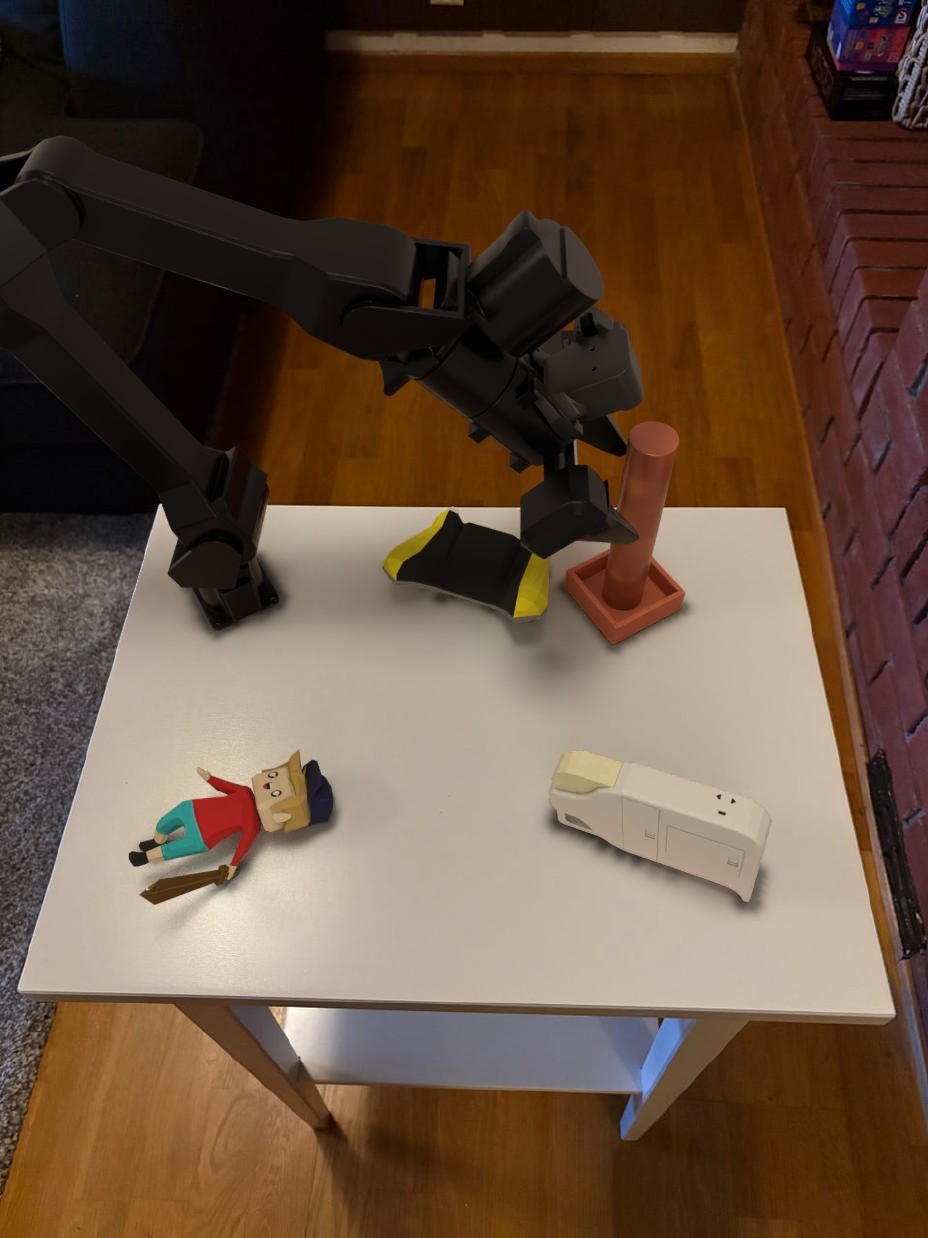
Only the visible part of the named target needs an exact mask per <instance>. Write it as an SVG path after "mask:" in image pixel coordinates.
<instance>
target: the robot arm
mask: <svg viewBox="0 0 928 1238" xmlns="http://www.w3.org/2000/svg"><path fill="white" fill-rule="evenodd" d="M70 241H74V242H77V243H81V244H84V245H86V246H87V245H88V246H89V247H90V246H91V247H93V248H97V249H100V250H103V251H106V252H109V253H112V254H115V255H119V256H121V257H125V258H128V259H131V260H134V261H138V262H140V263H143V264H146V265H150V266H153V267H156V268H160V269H162V270H166V271H169V272H172V273H175V274H178V275H181V276H185V277H188V278H191V279H194V280H196V281H200V282H203V283H207V284H209V285H213V286H216V287H219V288H222V289H225V290H229V291H231V292H235V293H238V294H241V295H243V296H244V295H245V296H248V297H251V298H252V299H253V298H254V299H257V300H260V301H262V302H264V303H267V304H269V305H271V306H274V307H275V308H278V309H280V310H281V311H283V312H284V313H285V314H286V315H287V316H288V317H289V318H291V319H292V320H293V321H294V322H295V323H296V324H297V325H298V326H299V327H300V328H301V329H302V330H303V331H304V332H306V334H308V335H309V336H310V337H312V338H314V339H316V340H318V341H320V342H322V343H324V344H327V345H328V346H331V347H333V348H335V349H337V350H340V351H342V352H344V353H346V354H347V355H350V356H352V357H355V358H358V359H360V360H364V361H370V362H378V364H379V367H380V369H381V374H382V381H383V382H382V383H383V389H382V390H383V391H382V392H383V394H384V395H385V396H386V397H393V396H394V395H396V394H397V393H398V392H399V391H400V390H401V389H403V387H404V386H406V385H407V384H408V383H409V382H411V381H412V380H413V381H415V382H416V383H417V384H418V385H420V386H421V387H423V388H424V389H425V390H426V391H428V392H429V393H430V394H432V395H433V396H434V397H436V399H438V400H440V401H441V402H443V404H445V405H447V406H448V407H449V408H450V409H452V410H453V411H454V412H456V413H457V414H458V415H460V416H461V417H463V418H464V419H465V420H466V421H468V429H467V430H468V432H467V433H468V434H467V437H468V438H470V439H471V440H472V441H474V442H475V443H477V444H481V443H482V442H483V441H485V440H486V439H487V438H489V437H490V438H491V439H492V440H493V441H494V442H496V443H497V444H499V445H500V446H502V447H503V448H504V449H506V450H507V451H508V452H509V468H511V469H512V470H514V472H516V473H517V474H521V473H522V472H523V471H525V470H526V469H528V468H529V467H531V466H532V465H533V466H534V467H541V466H543V481H541V482H540V483H538V484H537V485H535V486H534V487H532V488H531V489H528V491H526V492H524V493H523V494H522V495H520V497H519V498H520V501H519V539H520V545H521V546H523V547H524V548H526V549H527V550H529V551H530V552H532V553H533V554H535V555H536V556H538V557H539V558H542V559H544V560H545V559H546V558H548V559H549V557H552V556H553V555H555V554H557V553H559V552H560V551H561V550H563V549H565V548H567V547H569V546H570V545H572V544H574V543H575V542H591V543H603V544H610V543H615V544H631V543H633V542H635V541H636V540H638V539H639V534H638V533H637V531H636V530H635V529H634V528H633V527H632V525H631V524H630V523H629V522H628V521H627V520H626V519H625V518H624V517H623V516H622V515H621V514H620V513H619V512H618V511H617V510H616V508H615V506H613V505H612V504H611V494H610V484H609V482H610V481H609V479H605V480H602V478H601V476H600V474H599V473H598V472H597V471H596V470H595V469H593V468H592V467H591V466H590V465H588V464H579V462H578V461H579V460H578V445H577V441H578V440H579V441H580V442H582V443H584V444H586V445H589V446H591V447H593V448H595V449H597V450H599V451H601V452H604V453H606V454H610V455H612V456H615V457H618V458H622V457H623V456H626V450H627V444H628V441H627V439H626V438H625V436H624V435H623V433H622V432H621V430H620V428H619V426H618V425H617V423H616V422H615V420H614V418H613V416H612V415H611V414H614V413H618V412H620V411H621V412H622V411H623V412H627V411H630V410H633V409H635V408H636V407H638V406H640V404H641V403H642V402H643V400H644V398H645V390H644V387H643V380H642V379H643V378H642V367H641V364H640V362H639V359H638V356H637V354H636V352H635V349H634V346H633V344H632V342H631V338H630V330H629V328H628V326H627V325H624V324H622V323H621V321H620V319H617V320H614V318H613V317H612V316H611V315H609V314H608V313H606V312H605V311H603V309H600V308H599V307H598V306H596V305H595V304H596V303H598V302H599V301H600V300H601V299H602V298H603V297H604V295H605V284H604V281H603V277H602V274H601V272H600V269H599V267H598V265H597V264H596V262H595V260H594V258H593V257H592V255H591V253H590V252H589V250H588V249H587V247H586V246H585V245H584V243H583V242H582V240H581V239H580V238H579V237H578V236H577V235H576V233H575V232H574V231H573V230H571V228H570V227H568V225H563V226H562V225H561V224H559V223H558V222H556V221H554V220H553V219H551V218H545V217H544V218H542V219H540V220H539V219H538V218H537V217H536V216H535V215H534V214H533V213H532V212H531V211H530V210H529V209H523V210H521V211H520V212H519V214H517V215H516V216H515V217H514V218H513V219H512V220H511V221H509V223H508V225H507V226H506V228H505V229H504V231H503V232H502V233H501V234H500V235H499V236H498V237H497V238H496V239H495V240H494V241H493V242H492V243H491V244H489V245H488V247H487V248H486V249H484V250H483V252H481V253H480V254H479V255H478V256H477V257H476V258H475V259H474V260H472V257H473V248H472V246H471V245H470V244H468V243H463V242H454V241H447V240H439V239H431V238H424V237H423V238H422V237H416V236H409V235H408V234H406V233H405V232H403V231H402V230H400V229H397V228H396V227H393V226H389V225H386V224H380V223H375V222H370V221H364V220H358V219H354V218H353V219H352V218H347V217H341V216H333V217H327V218H326V217H325V218H319V219H310V220H299V219H295V218H288V217H282V216H280V215H276V214H273V213H271V212H269V211H268V212H267V211H264V210H262V209H259V208H257V207H254V206H251V205H248V204H246V203H245V204H244V203H242V202H239V201H237V200H234V199H230V198H227V197H224V196H222V195H218V194H215V193H213V192H210V191H207V190H204V189H201V188H198V187H196V186H192V185H189V184H186V183H184V182H182V181H181V182H180V181H178V180H175V179H172V178H169V177H166V176H164V175H161V174H158V173H155V172H151V171H149V170H147V169H143V168H140V167H137V166H136V165H135V166H134V165H132V164H130V163H126V162H124V161H121V160H117V159H114V158H111V157H109V156H105V155H103V154H100V153H97V152H94V151H93V150H92V149H91V148H90V147H89V146H88V145H87V144H86V143H84V142H82V141H81V140H78V139H76V138H75V137H72V136H66V135H57V136H53V137H48V138H44V139H42V141H40V142H39V143H37V144H36V146H33V147H32V148H30V149H28V150H26V151H20V152H16V153H11V154H7V155H2V156H0V349H1V350H2V349H3V350H5V351H7V352H8V353H10V354H11V355H12V356H13V357H14V358H15V359H16V360H17V361H19V363H21V365H23V366H24V367H25V368H26V369H27V370H28V371H29V372H30V373H31V374H32V375H33V376H34V377H35V378H37V379H38V380H39V382H41V383H42V385H44V386H45V387H46V388H47V389H48V390H49V391H50V392H51V393H52V394H54V396H55V397H57V398H58V400H60V401H61V402H62V403H63V404H64V405H65V406H66V407H67V408H68V409H69V410H70V411H71V412H73V413H74V414H75V415H76V417H78V418H79V419H80V420H81V421H82V422H83V423H84V424H85V425H86V426H88V428H89V429H90V430H91V431H92V432H94V433H95V434H96V435H97V436H98V437H99V438H100V439H101V440H102V441H103V442H104V443H106V445H108V446H109V448H111V449H112V450H113V451H114V452H115V453H116V454H117V455H118V456H119V457H120V458H121V459H122V460H123V461H125V462H126V464H127V465H128V466H130V467H131V468H132V469H133V470H134V471H135V472H136V473H137V474H138V475H139V476H140V477H141V478H143V480H145V481H146V482H147V483H148V485H150V486H151V487H152V488H153V489H154V491H155V492H156V494H157V495H158V498H159V501H160V504H161V507H162V509H163V513H164V516H165V519H166V520H167V523H168V526H169V529H170V531H171V532H172V534H174V536H175V537H176V538H177V539H176V543H175V546H174V550H173V553H172V555H171V560H170V563H169V566H168V570H167V576H168V577H169V578H170V579H171V580H173V582H175V584H176V585H178V586H179V588H182V589H192V591H193V592H194V595H195V597H196V598H197V601H198V602H199V605H200V606H201V608H202V610H203V612H204V614H205V616H206V618H207V621H208V622H209V624H210V626H211V628H212V629H213V630H214V631H219V630H222V629H224V628H227V627H228V626H231V625H233V624H235V623H237V622H239V621H242V620H244V619H246V618H248V617H250V616H253V615H255V614H257V613H259V612H261V611H263V610H265V609H268V608H270V607H272V606H274V605H276V604H278V603H279V602H280V596H279V593H278V592H277V590H276V588H275V586H274V585H273V584H272V583H273V582H272V581H271V580H270V578H269V576H268V575H267V573H266V571H265V569H264V568H263V566H262V565H261V562H260V561H259V559H258V557H257V553H258V548H259V544H260V539H261V535H262V531H263V526H264V522H265V517H266V512H267V508H268V504H269V499H270V493H271V492H270V488H269V485H268V483H267V479H268V472H265V471H264V470H262V469H260V468H259V467H258V466H256V465H255V464H254V463H253V462H252V461H251V459H250V457H249V456H248V455H247V453H246V451H245V450H244V449H243V448H241V447H240V446H234V447H232V448H230V449H228V450H221V449H217V448H213V447H209V446H205V445H203V444H202V443H200V441H198V440H197V439H196V437H195V436H194V435H193V434H192V433H191V432H190V431H189V430H188V429H187V427H185V426H184V425H183V424H182V422H181V421H180V420H179V419H178V418H177V417H176V415H174V414H173V413H172V412H171V411H170V410H169V409H168V408H167V407H166V406H165V405H164V403H163V402H162V401H160V399H159V398H158V397H157V396H156V395H155V394H154V393H153V392H152V391H151V390H150V388H148V386H147V385H146V384H145V383H143V381H142V380H141V379H140V378H139V377H138V376H137V374H136V373H134V372H133V371H132V369H131V368H129V366H128V365H127V364H126V363H125V362H124V361H123V359H121V358H120V357H119V355H117V353H116V352H115V351H113V350H112V348H111V347H110V346H109V345H108V344H107V343H106V342H105V341H104V340H103V339H102V338H101V337H100V335H98V334H97V332H96V331H95V330H94V329H93V328H92V327H91V326H90V325H89V324H88V323H87V322H86V321H85V320H84V319H83V318H82V316H81V315H79V313H78V312H77V311H76V310H75V309H74V308H73V307H72V306H71V305H70V304H69V303H68V301H67V300H66V298H65V297H64V295H63V293H62V290H61V287H60V285H59V283H58V279H57V277H56V275H55V272H54V269H53V267H52V262H51V261H50V257H49V256H48V253H49V252H50V251H52V250H54V249H56V248H58V247H60V246H61V245H64V244H67V243H68V242H70ZM429 280H435V282H434V293H433V303H432V304H433V305H432V308H429V307H422V305H423V297H424V287H425V281H429ZM573 321H574V324H573V329H565V328H566V327H567V326H568V325H570V324H571V323H572V322H573Z"/></svg>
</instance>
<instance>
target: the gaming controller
mask: <svg viewBox="0 0 928 1238" xmlns="http://www.w3.org/2000/svg"><path fill="white" fill-rule="evenodd" d="M459 511H460V510H459V508H457V507H455V506H453V505H452V506H450V507H448V508H446V509H445V510H444V511H442V512H440V513H439V514H438V515H436V517H435V519H434V521H433V523H432V524H431V525H430V526H429V527H427V528H425V529H423V530H422V531H420V532H419V533H416V534H415V535H413V536H411V537H410V538H408V539H406V540H405V541H403V542H401V543H400V544H397V545H396V546H394V547H393V548H392V549H391V551H389V552H388V553H387V555H386V557H385V558H384V560H383V562H382V570H383V572H384V573H385V575H386V577H387V578H388V579H389V581H390V582H391V583H392V584H394V585H396V586H403V587H410V588H418V589H427V590H431V591H435V592H439V593H443V594H446V595H450V596H452V597H456V598H459V599H462V600H465V601H468V602H471V603H475V604H477V605H480V606H485V607H487V608H490V609H493V610H495V611H497V612H500V613H501V614H503V615H504V616H505V617H507V619H509V620H510V621H511V622H513V623H517V624H521V623H526V622H531V621H535V620H540V619H542V618H543V617H544V616H545V615H546V614H547V613H548V607H549V593H550V563H549V557H548V558H546V559H545V560H544V559H542V558H539V557H538V556H536V555H535V554H533V553H532V552H530V551H529V550H527V549H526V548H524V547H523V546H521V545H520V537H517V536H516V535H514V534H511V533H508V532H504V531H502V530H497V529H495V528H492V527H487V526H485V525H480V524H477V523H474V522H470V521H468V522H464V521H463V520H462V519H461V516H460V513H459Z"/></svg>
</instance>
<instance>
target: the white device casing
mask: <svg viewBox="0 0 928 1238" xmlns="http://www.w3.org/2000/svg"><path fill="white" fill-rule="evenodd" d="M548 798H549V803H550V806H551V807H553V808H554V809H555V810H556V816H557V820H558V821H559V823H560V824H563V825H565V826H568V827H571V828H574V829H576V830H580V831H583V832H586V833H588V834H592V835H594V836H597V837H600V838H601V839H603V840H604V841H606V842H608V843H609V844H611V846H614V847H616V848H617V849H620V850H622V851H624V852H627V853H629V854H632V855H634V856H638V857H641V858H644V859H647V860H650V861H654V862H655V863H659V864H662V865H664V866H668V867H670V868H673V869H675V870H679V871H682V872H685V873H687V874H690V875H693V876H696V877H699V878H702V879H705V880H707V881H710V882H713V883H715V884H718V885H721V886H724V887H726V888H728V889H731V890H733V891H734V892H735V893H737V894H738V895H739V897H740V898H741V900H742V901H743V902H746V903H749V902H750V900H751V898H752V894H753V891H754V888H755V884H756V880H757V877H758V874H759V870H760V867H761V862H762V859H763V857H764V852H765V848H766V845H767V841H768V838H769V837H768V836H769V833H770V830H771V825H772V816H771V813H770V812H769V810H767V809H766V807H764V806H763V805H762V804H760V803H759V802H758V801H756V800H754V799H751V798H748V797H746V796H745V795H741V794H737V793H734V792H731V791H729V790H728V791H727V790H725V789H722V788H718V787H715V786H712V785H708V784H705V783H702V782H698V781H696V780H692V779H689V778H685V777H683V776H679V775H675V774H673V773H669V772H666V771H663V770H660V769H656V768H654V767H653V768H652V767H650V766H646V765H643V764H639V763H635V762H629V761H620V760H619V761H618V760H615V759H612V758H609V757H606V756H602V755H599V754H596V753H592V752H590V751H586V750H571V751H566V752H565V751H564V753H562V754H560V757H559V758H558V761H557V763H556V766H555V768H554V771H553V773H552V775H551V784H550V787H549V789H548Z"/></svg>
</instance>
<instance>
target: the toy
mask: <svg viewBox="0 0 928 1238" xmlns="http://www.w3.org/2000/svg"><path fill="white" fill-rule="evenodd" d="M195 771H196V773H197V774H198V775H199V777H201V778H202V779H203V780H204V781H205V782H206V783H207V784H209V786H211V787H212V788H213V789H215V790H216V791H217V792H220V793H222V794H225V795H223V796H212V797H202V798H194V799H187V800H183V801H181V802H180V803H178V804H177V805H176V806H175V807H173V808H172V809H171V810H170V811H168V812H167V813H165V814H164V815H163V816H161V817H160V819H158V821H157V823H156V826H155V830H154V835H153V838H152V839H148V840H143V841H140V842H139V844H138V848H139V850H140V851H134V850H131V851H129V853H128V861H129V863H130V864H131V866H132V867H133V868H137V867H141V866H145V865H148V864H149V863H157V862H166V861H171V860H176V859H181V858H186V857H190V856H195V855H198V854H203V853H207V852H209V851H211V850H212V849H213V848H215V847H216V846H217V845H218V844H220V843H221V842H223V841H225V840H227V839H228V838H230V837H232V836H233V835H236V834H238V833H240V832H241V835H240V838H239V841H238V843H237V846H236V848H235V851H234V854H233V856H232V859H231V861H230V863H229V864H228V865H227V864H226V863H224V864H220V865H218V868H217V869H214V870H207V871H202V872H195V873H188V874H183V875H182V874H181V875H177V876H171V877H170V876H169V877H164V878H158V880H156V881H155V882H153V883H152V884H150V885H149V886H148V887H147V889H144V890H142V891H141V892H140V893H138V895H139V896H140V897H141V898H143V899H145V900H146V901H148V902H149V903H151V904H152V905H153V906H156V905H158V904H162V903H164V902H167V901H170V900H172V899H176V898H178V897H181V896H183V895H186V894H189V893H192V892H194V891H197V890H199V889H202V888H204V887H207V886H211V885H213V884H214V885H215V886H216V887H220V886H222V885H224V884H225V882H226V880H227V881H230V880H231V879H232V878H233V877H235V876H238V875H239V873H240V869H239V868H238V864H239V863H240V862H241V861H242V859H244V858H245V856H246V855H247V854H248V852H249V851H250V849H251V847H252V846H253V844H254V842H255V840H256V839H257V837H258V835H259V833H260V832H261V830H262V827H263V830H264V831H266V832H268V833H269V832H270V833H274V832H275V831H279V830H280V831H282V832H284V833H285V834H286V833H290V832H292V831H295V830H299V829H301V828H304V827H307V826H308V827H311V826H314V825H319V824H325V823H329V821H330V820H331V816H332V813H333V808H334V807H333V806H334V794H333V787H332V785H331V784H330V782H329V781H328V779H327V777H326V776H325V775H323V774H322V772H321V767H320V765H319V762H318V760H316V759H310V760H309V761H308V762H307V763H305V764H304V765H303V766H302V761H301V751H300V748H298V749H297V750H296V751H295V752H293V753H292V755H290V757H289V759H288V761H286V762H284V763H283V764H280V765H278V766H276V767H273V768H267V769H261V772H260V773H255V774H254V775H253V776H252V777H251V784H252V788H251V787H250V786H248V785H244V784H239V783H236V782H233V781H229V780H226V779H223V778H220V777H218V776H214V775H212V774H211V772H210V771H209V770H205V769H204V768H202V767H199V766H198V767H196V769H195ZM182 827H183V828H184V830H185V834H184V835H183V836H182V837H179V838H177V839H175V840H172V841H170V842H167V840H168V838H169V836H170V835H171V834H172V833H174V832H175V831H177V830H180V828H182Z"/></svg>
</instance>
